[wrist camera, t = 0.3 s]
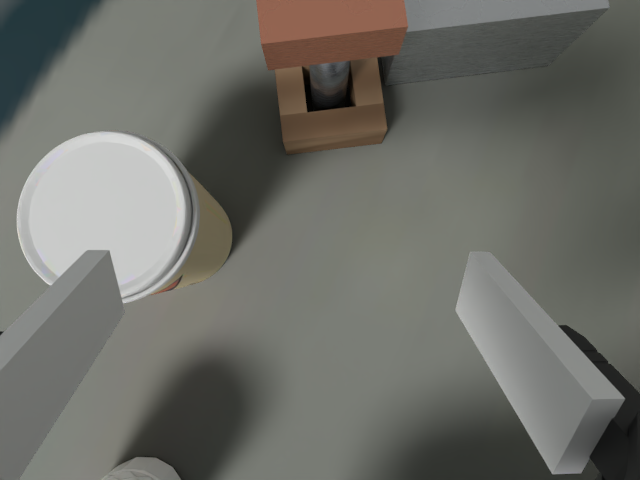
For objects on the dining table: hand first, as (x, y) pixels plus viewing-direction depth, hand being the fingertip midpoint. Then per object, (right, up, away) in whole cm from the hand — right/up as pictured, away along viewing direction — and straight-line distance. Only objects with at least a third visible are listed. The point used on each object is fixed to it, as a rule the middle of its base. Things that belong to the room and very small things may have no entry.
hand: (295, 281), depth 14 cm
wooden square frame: (+2, +13, +18) cm, 22 cm away
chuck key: (+2, +13, +18) cm, 22 cm away
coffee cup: (-10, +2, +17) cm, 20 cm away
